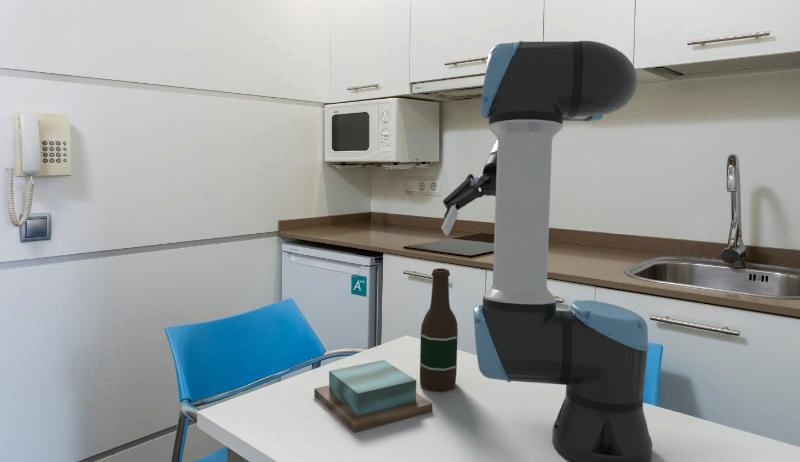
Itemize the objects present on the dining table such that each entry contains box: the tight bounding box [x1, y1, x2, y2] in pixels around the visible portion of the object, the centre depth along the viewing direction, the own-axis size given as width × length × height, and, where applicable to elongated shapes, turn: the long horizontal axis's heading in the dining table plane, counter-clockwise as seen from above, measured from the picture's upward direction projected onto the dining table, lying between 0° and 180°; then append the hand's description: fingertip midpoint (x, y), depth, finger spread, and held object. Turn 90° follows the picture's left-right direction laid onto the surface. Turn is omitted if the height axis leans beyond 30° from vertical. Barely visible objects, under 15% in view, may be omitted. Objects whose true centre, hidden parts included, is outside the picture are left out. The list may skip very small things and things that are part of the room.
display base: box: [313, 359, 434, 433], centre depth 107 cm, size 17×16×6 cm
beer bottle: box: [419, 268, 459, 393], centre depth 115 cm, size 8×8×24 cm
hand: (471, 234), depth 123 cm, fingers open, 13 cm apart
